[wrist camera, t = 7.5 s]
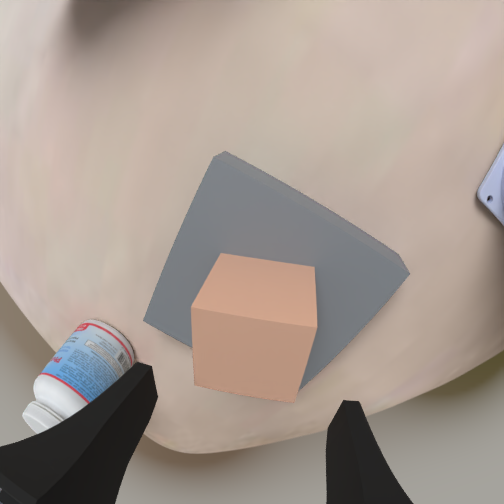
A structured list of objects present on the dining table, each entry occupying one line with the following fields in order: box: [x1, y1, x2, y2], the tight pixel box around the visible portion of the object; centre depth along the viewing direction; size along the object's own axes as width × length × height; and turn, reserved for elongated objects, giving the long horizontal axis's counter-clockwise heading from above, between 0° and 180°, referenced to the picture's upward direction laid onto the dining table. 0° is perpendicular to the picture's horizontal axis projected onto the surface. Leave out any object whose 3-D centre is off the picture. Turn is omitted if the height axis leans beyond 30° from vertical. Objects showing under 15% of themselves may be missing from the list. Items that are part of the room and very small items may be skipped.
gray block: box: [143, 151, 410, 391], centre depth 19 cm, size 12×12×3 cm
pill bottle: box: [22, 320, 134, 434], centre depth 20 cm, size 6×6×11 cm
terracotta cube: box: [191, 253, 317, 403], centre depth 15 cm, size 5×5×5 cm
